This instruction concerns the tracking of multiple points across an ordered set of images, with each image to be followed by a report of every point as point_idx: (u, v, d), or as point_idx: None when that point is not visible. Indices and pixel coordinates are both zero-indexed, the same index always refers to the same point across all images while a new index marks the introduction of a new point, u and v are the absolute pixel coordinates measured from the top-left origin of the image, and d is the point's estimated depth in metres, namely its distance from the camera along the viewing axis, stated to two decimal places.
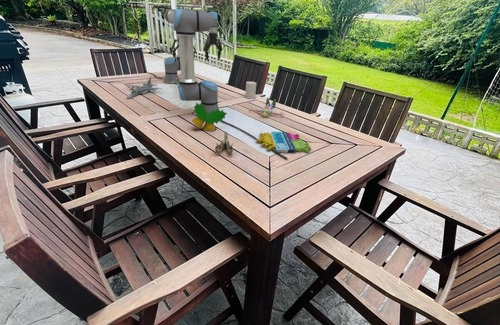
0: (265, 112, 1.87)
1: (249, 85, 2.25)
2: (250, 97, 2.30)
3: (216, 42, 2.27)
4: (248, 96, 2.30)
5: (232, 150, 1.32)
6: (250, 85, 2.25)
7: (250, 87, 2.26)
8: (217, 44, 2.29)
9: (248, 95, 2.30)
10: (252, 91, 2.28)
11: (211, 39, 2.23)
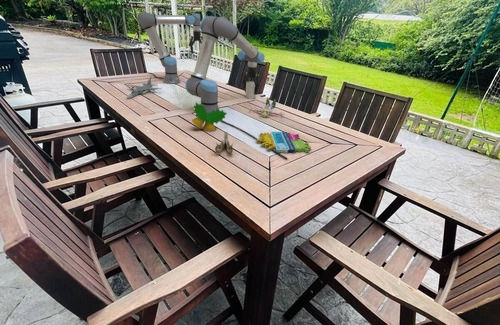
0: (265, 112, 1.87)
1: (249, 85, 2.25)
2: (250, 97, 2.30)
3: (199, 39, 2.71)
4: (248, 96, 2.30)
5: (232, 150, 1.32)
6: (250, 85, 2.25)
7: (250, 87, 2.26)
8: (200, 40, 2.72)
9: (248, 95, 2.30)
10: (252, 91, 2.28)
11: (195, 36, 2.67)
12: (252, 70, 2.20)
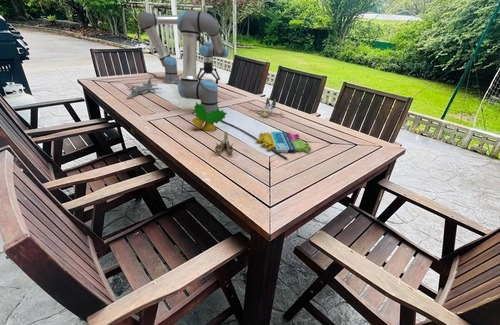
0: (265, 112, 1.87)
1: None
2: None
3: (199, 39, 2.71)
4: None
5: (232, 150, 1.32)
6: None
7: None
8: (200, 40, 2.72)
9: None
10: None
11: None
12: (210, 65, 2.18)
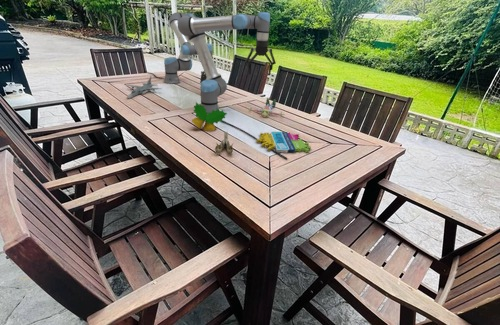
0: (265, 112, 1.87)
1: None
2: None
3: None
4: None
5: (232, 150, 1.32)
6: None
7: None
8: None
9: None
10: None
11: None
12: (266, 44, 1.66)
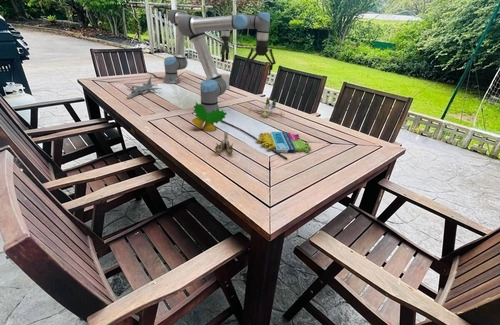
0: (265, 112, 1.87)
1: (228, 76, 2.51)
2: (228, 87, 2.57)
3: (227, 44, 2.41)
4: (227, 87, 2.55)
5: (232, 150, 1.32)
6: (228, 76, 2.51)
7: (228, 78, 2.52)
8: (227, 46, 2.43)
9: (227, 85, 2.54)
10: None
11: (225, 42, 2.36)
12: (266, 44, 1.66)
